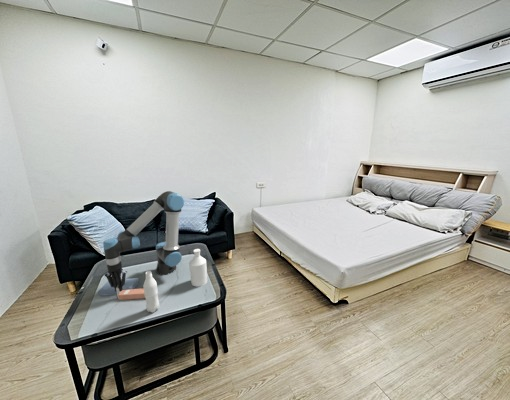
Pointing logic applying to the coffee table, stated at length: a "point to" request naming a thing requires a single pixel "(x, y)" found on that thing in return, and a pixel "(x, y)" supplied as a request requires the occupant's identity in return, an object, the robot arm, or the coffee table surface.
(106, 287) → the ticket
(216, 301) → the coffee table surface
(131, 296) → the orange rectangular block
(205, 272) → the bottle
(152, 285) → the water bottle
